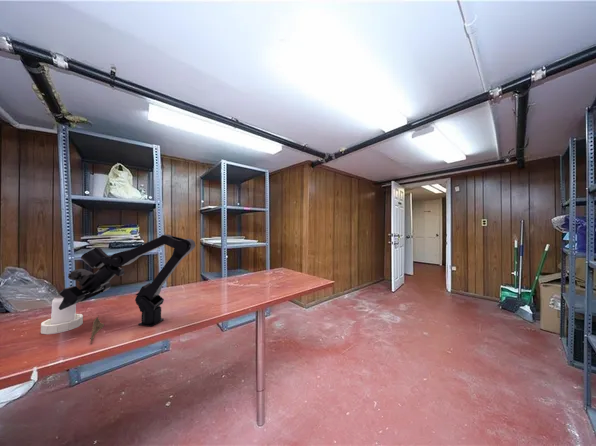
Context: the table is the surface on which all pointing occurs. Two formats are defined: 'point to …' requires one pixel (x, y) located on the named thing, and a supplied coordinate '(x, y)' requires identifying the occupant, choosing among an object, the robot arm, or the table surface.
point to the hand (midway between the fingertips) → (70, 304)
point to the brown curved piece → (96, 327)
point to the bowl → (61, 325)
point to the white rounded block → (62, 312)
